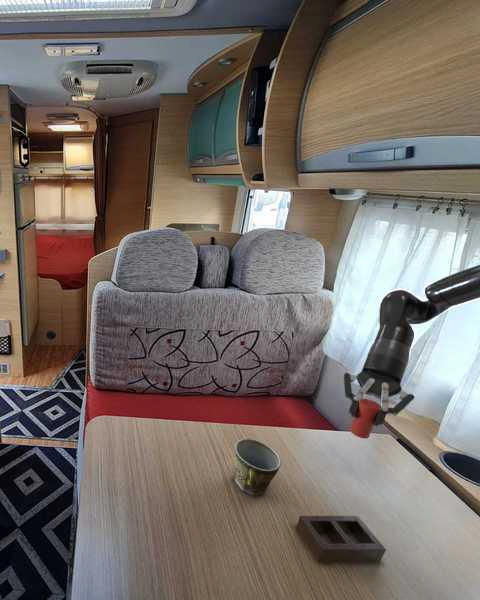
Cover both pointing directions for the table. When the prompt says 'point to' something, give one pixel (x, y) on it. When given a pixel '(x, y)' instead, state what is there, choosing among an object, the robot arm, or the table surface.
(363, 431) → the red cylinder
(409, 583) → the table surface
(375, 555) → the two-compartment tray
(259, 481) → the ceramic cup
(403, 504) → the table surface
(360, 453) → the table surface
